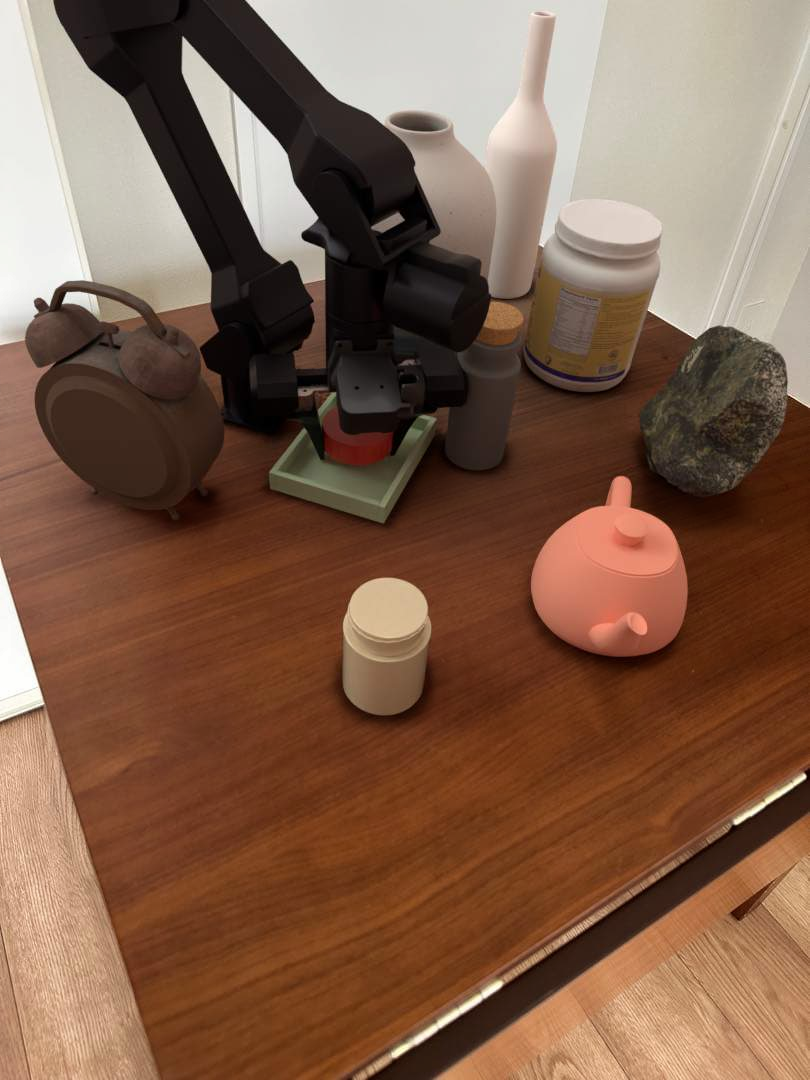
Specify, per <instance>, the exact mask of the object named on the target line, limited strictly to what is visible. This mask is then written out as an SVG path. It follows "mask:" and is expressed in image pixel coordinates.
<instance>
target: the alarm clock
mask: <svg viewBox="0 0 810 1080" xmlns="http://www.w3.org/2000/svg"><path fill="white" fill-rule="evenodd" d="M67 293H83V294H89V295H94V296H97V297H102V298H106V299H109V300H112V301H115V302H118V303H120V304H122V305H124V306H126V307H128V308H130V309H132V310H134V311H136V312H137V313H138V314H139V315H140V316H141V317H142V319H143V320H144V321H145V323H146V324H143V325H141V326H139V327H138V328H136V329H135V330H127V329H120V327H119V325H117V324H114V323H111V322H108V321H100V319H98V318H97V317H96V316H95V315H94V314H93V312H91V311H90V310H88V308H86V307H85V306H83V305H80V304H77V303H67V302H66V303H64V300H65V298H66V295H67ZM33 304H34V305H33V306H34V308H35V310H37V313H36V314H34V315H33V319H32V320H31V321H30V322H29V324H28V326H27V328H26V331H25V335H24V344H25V347H26V349H27V352H28V354H29V356H30V358H31V360H32V362H33V364H34V365H35V366H36V368H37V369H42V368H45V367H47V366H51V365H52V366H51V367H49V369H48V370H47V371H46V372H44V373H43V374H42V376H41V377H40V378H39V380H38V381H37V384H36V387H35V392H34V409H35V414H36V417H37V420H38V424H39V425H40V429H41V430H42V433H43V435H44V436H45V439H46V440H47V442H48V443H49V445H50V446H51V448H52V449H53V450H54V452H55V453H56V455H57V456H58V457H59V458H60V460H61V461H62V462H63V463H64V465H66V467H68V469H69V470H71V472H72V473H74V475H76V476H77V477H78V478H80V479H81V480H82V481H83V482H84V483H86V485H88V486H89V487H91V489H90V493H91V494H92V495H94V496H98V495H99V493H100V494H102V495H103V496H105V497H107V498H109V499H111V500H113V501H114V502H117V503H120V504H123V505H124V506H128V507H131V508H136V509H139V510H147V511H159V510H165V509H166V510H167V511H168V513H169V514H170V516H171V519H172V520H173V521H177V520H179V518H180V515H179V513H177V512H176V509H175V506H176V505H177V504H178V503H180V502H181V501H182V500H183V499H184V498H185V497H186V496H188V494H189V493H191V492H192V491H193V490H194V489H195V488H196V489H197V490H198V491H199V494H200V496H202V497H206V496H208V494H209V492H208V490H207V489H206V488H204V486H203V483H202V481H203V479H205V477H206V475H207V474H208V473H209V472H210V470H211V468H212V466H213V465H214V463H215V462H216V460H217V458H218V457H219V455H220V454H221V451H222V449H223V446H224V441H225V422H223V417H222V414H221V411H220V409H221V408H220V406H219V402H218V401H217V399H216V396H215V395H214V393H213V392H212V391H213V390H211V388H210V386H209V385H208V384H207V382H206V380H204V378H203V377H202V375H201V371H202V361H201V360H202V359H201V352H200V350H199V348H198V347H197V345H196V343H195V342H194V341H193V340H192V338H191V337H190V336H189V335H188V334H187V333H186V332H184V331H183V330H181V329H180V328H178V327H177V326H174V325H171V324H168V323H163V322H162V320H161V319H160V317H159V316H158V315H157V313H156V312H155V310H154V309H153V307H152V306H151V305H150V304H149V303H147V302H146V301H145V300H144V299H142V298H141V297H138V296H136V295H134V294H132V293H130V292H128V291H126V290H124V289H121V288H119V287H118V288H117V287H115V286H111V285H108V284H103V283H101V282H100V283H99V282H95V281H89V280H83V279H82V280H67V281H65V282H64V283H62V284H60V285H59V286H57V287H56V288H55V289H54V291H53V293H52V297H51V300H50V303H49V304H48V303H47V301H46V300H45V299H43V298H42V297H35V298H34V299H33Z"/></svg>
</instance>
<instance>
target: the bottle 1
mask: <svg viewBox="0 0 810 1080" xmlns="http://www.w3.org/2000/svg"><path fill="white" fill-rule="evenodd" d="M556 19H557V15H556V14H555V13H554V12H551V11H546V10H535V11H532V12H530V15H529V24H528V29H527V35H526V42H525V49H524V56H523V62H522V67H521V74H520V80H519V86H518V91H517V94H516V97H515V98H514V100H513V102H512V103H511V104H510V106H509V107H508V108H507V109H506V111H505V112H504V113H503V115H502V116H501V117H500V119H499V120H498V121H497V122H496V124H495V126H494V127H493V129H492V130H491V132H490V134H489V136H488V139H487V144H486V145H487V147H486V151H485V158H484V165H483V167H484V168H485V170H486V171H487V173H488V175H489V177H490V179H491V182H492V185H493V189H494V193H495V198H496V210H497V214H496V227H495V235H494V242H493V249H492V256H491V262H490V269H489V276H488V285H489V293H490V294H491V298H494V299H501V300H510V299H517V298H520V297H523V296H526V295H527V293H529V291H530V289H531V288H532V282H533V278H534V272H535V267H536V263H537V258H538V251H539V247H540V241H541V236H542V231H543V226H544V221H545V216H546V210H547V205H548V200H549V194H550V189H551V184H552V180H553V175H554V174H553V173H554V168H555V163H556V157H557V153H558V142H557V141H558V140H557V137H556V134H555V130H554V127H553V125H552V122H551V119H550V116H549V114H548V110H547V108H546V105H545V102H544V92H545V85H546V80H547V79H546V78H547V73H548V72H547V71H548V67H549V59H550V55H551V49H552V43H553V37H554V31H555V25H556Z"/></svg>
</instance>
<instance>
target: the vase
mask: <svg viewBox="0 0 810 1080" xmlns="http://www.w3.org/2000/svg"><path fill="white" fill-rule="evenodd" d="M383 125H384V126H385V127H387V128H388V129H389V130H390V131H392V132H393V133H394V134H395V135H396V136H398V137H399V138H400V139H401V140H402V141H403V142H404V143H405V144H406V145H407V147H408V148H409V150H410V151H411V153H412V155H413V158H414V160H415V167H414V170H415V173H416V175H417V178H418V180H419V182H420V184H421V187H422V189H423V191H424V193H425V196H426V198H427V200H428V202H429V205H430V207H431V208H432V211H433V214H434V216H435V218H436V220H437V223H438V225H439V227H440V230H441V233H440V235H438V236H437V237H435V238H434V239H432V240H430V243H429V244H432V245H434V246H437V247H440V248H443V249H446V250H448V251H451V252H454V253H457V254H466V255H470V256H473V257H475V258H478V259H480V260H481V262H482V266H481V273H480V275H481V276H483V277H485V278H486V280H487V281H488V276H489V269H490V262H491V256H492V249H493V242H494V235H495V227H496V214H497V210H496V198H495V193H494V189H493V185H492V182H491V179H490V177H489V175H488V173H487V171H486V170H485V168H484V165H483V164H482V163H481V162H480V161H479V159H478V158H476V156H475V155H474V154H473V153H471V151H470V150H468V149H467V148H466V147H465V146H464V145H463V144H462V143H461V142H460V141H459V140H458V139H457V138H456V137H455V136H456V135H455V132H454V130H455V129H454V123H453V120H451V119H450V118H449V117H447V116H445V115H443V114H440V113H437V112H433V111H427V110H418V109H417V110H416V109H414V110H413V109H411V110H410V109H409V110H408V109H407V110H400V111H395V112H392V113H390V114H388V115H387V116H386V117H385V120H384V124H383ZM403 221H405V220H404V219H403V217H402V216H401V215H400V214H399V212H398V213H396V214H395V215H393V216H391V217H389V218H387V219H385V220H383V221H381V222H380V223H378V224H376V225H374V226H372V227H371V228H372V229H374V230H377V231H380V232H382V233H383V232H385V231H387V230H388V229H390V228H392V227H394V226H396V225H397V224H399V223H401V222H403ZM420 348H445V347H443V346H440V345H438V344H436V343H433V342H431V341H428V340H426V339H424V338H421V337H419V336H416V335H414V334H412V333H409V332H407V331H404V330H402V329H399V328H397V327H395V326H394V351H395V354H396V357H397V361H398V364H402V363H403V361H405V360H413V358H414V351H415V350H416V349H420ZM457 353H458V352H457Z"/></svg>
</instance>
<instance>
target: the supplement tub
mask: <svg viewBox="0 0 810 1080" xmlns="http://www.w3.org/2000/svg"><path fill="white" fill-rule="evenodd" d="M663 227H664V226H663V224H662V222H661V221H660V219H659V218H658V217H656V216H655V215H654V214H653V213H651V212H650V211H648V210H647V209H644V208H642V207H640V206H638V205H634V204H631V203H627V202H624V201H620V200H613V199H605V198H586V199H585V198H584V199H577V200H574V201H571V202H568V203H566V204H565V205H563V206H562V207H561V208H560V209H559V213H558V216H557V221H556V222H555V224H554V232H553V234H551V235H550V236H549V238H548V239H547V240H546V241H545V243H544V246H543V248H542V251H541V257H540V262H539V267H538V271H537V276H536V277H537V278H536V282H535V288H534V293H533V298H532V303H531V309H530V314H529V318H528V323H527V328H526V332H525V333H526V334H525V339H524V342H523V358H524V361H525V363H526V366H527V367H528V368H529V369H530V371H531V372H532V373H533V374H534V375H535V376H537V377H538V378H539V379H541V380H542V381H544V382H545V383H548V384H550V385H552V386H554V387H556V388H559V389H562V390H567V391H571V392H577V393H595V392H602V391H603V392H604V391H607V390H609V389H612V388H613V387H615V386H617V385H618V384H619V383H621V382H622V381H623V379H624V378H625V377H626V375H627V374H628V372H629V371H630V369H631V365H632V361H633V357H634V354H635V351H636V348H637V344H638V342H639V339H640V335H641V332H642V329H643V326H644V322H645V319H646V317H647V313H648V310H649V307H650V303H651V300H652V297H653V294H654V291H655V288H656V285H657V282H658V279H659V277H660V271H661V259H660V256H659V253H658V250H660V247H661V238H662V234H663V230H664V228H663Z"/></svg>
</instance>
